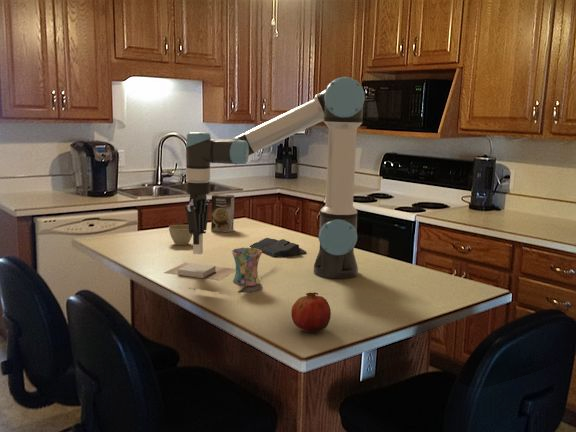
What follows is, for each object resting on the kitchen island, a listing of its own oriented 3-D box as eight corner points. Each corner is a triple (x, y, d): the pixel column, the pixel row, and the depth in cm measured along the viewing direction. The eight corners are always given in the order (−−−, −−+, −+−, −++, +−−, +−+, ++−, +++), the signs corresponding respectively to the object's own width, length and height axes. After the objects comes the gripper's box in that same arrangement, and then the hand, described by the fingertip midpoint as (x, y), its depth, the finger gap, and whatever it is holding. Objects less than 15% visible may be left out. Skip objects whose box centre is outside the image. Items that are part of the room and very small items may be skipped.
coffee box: (210, 231, 265) (210, 195, 263) (214, 228, 272) (215, 193, 269) (230, 232, 264) (230, 196, 261) (234, 229, 270) (234, 194, 267)
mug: (232, 279, 190) (233, 247, 188) (261, 280, 190) (262, 248, 188) (229, 290, 178) (230, 256, 176) (260, 291, 178) (261, 257, 176)
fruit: (312, 342, 143) (314, 302, 141) (282, 331, 149) (283, 292, 147) (339, 330, 150) (341, 292, 149) (309, 320, 157) (310, 284, 155)
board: (237, 273, 199) (237, 269, 199) (219, 284, 186) (219, 280, 186) (184, 266, 205) (184, 262, 205) (163, 277, 192) (163, 272, 192)
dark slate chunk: (278, 244, 247) (278, 232, 246) (309, 255, 229) (309, 243, 228) (246, 247, 238) (246, 236, 237) (276, 259, 220) (276, 247, 219)
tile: (215, 265, 195) (202, 272, 187) (215, 271, 195) (202, 278, 187) (191, 262, 198) (177, 269, 190) (191, 268, 198) (177, 275, 190)
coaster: (267, 284, 188) (267, 282, 188) (253, 294, 178) (253, 292, 177) (235, 280, 191) (235, 278, 191) (220, 289, 181) (220, 287, 181)
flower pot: (199, 243, 241) (199, 226, 239) (182, 248, 232) (182, 230, 231) (180, 240, 246) (180, 223, 245) (163, 244, 238) (163, 227, 236)
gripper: (197, 178, 195) (197, 248, 199) (177, 182, 183) (177, 256, 187) (217, 179, 193) (217, 250, 197) (199, 184, 181) (198, 259, 185)
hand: (197, 253), depth 192 cm, fingers closed
